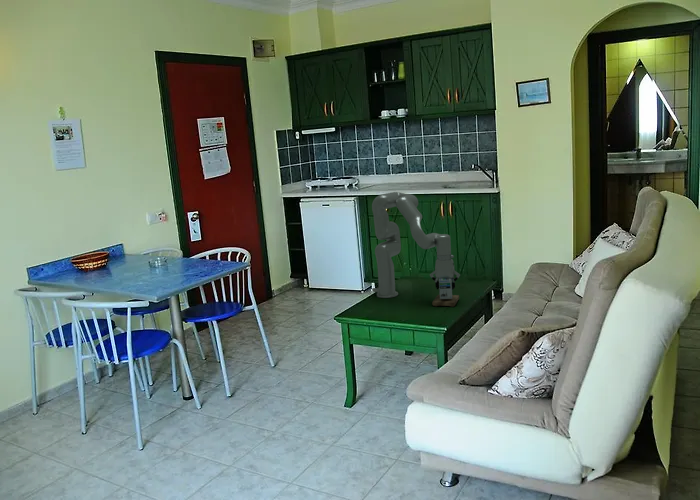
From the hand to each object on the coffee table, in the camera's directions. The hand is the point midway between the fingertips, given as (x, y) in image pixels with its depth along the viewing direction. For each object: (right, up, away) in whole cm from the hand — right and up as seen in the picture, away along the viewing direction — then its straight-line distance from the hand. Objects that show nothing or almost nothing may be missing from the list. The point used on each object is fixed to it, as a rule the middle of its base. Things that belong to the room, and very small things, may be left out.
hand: (445, 288), depth 331 cm
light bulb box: (0, -5, +1) cm, 5 cm away
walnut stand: (+1, -8, +1) cm, 8 cm away
